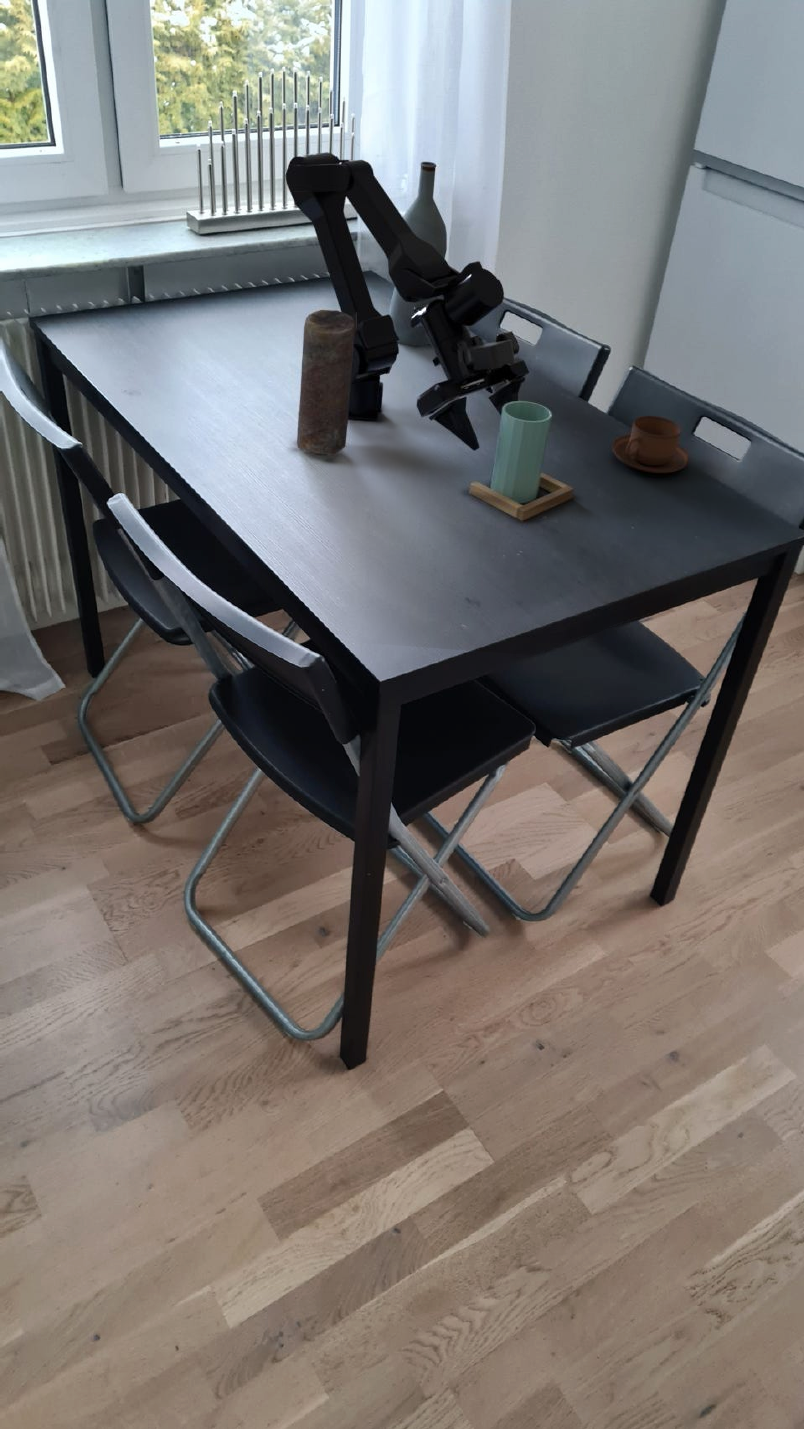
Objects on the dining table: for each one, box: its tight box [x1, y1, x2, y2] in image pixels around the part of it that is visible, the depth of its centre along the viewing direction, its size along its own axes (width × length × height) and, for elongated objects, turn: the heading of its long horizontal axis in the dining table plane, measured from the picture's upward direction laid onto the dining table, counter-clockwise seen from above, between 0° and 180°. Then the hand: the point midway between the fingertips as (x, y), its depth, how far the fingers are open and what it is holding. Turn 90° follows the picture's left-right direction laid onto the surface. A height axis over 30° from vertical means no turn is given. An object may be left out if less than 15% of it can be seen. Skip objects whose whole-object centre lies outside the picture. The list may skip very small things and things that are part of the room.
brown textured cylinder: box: [296, 309, 355, 457], centre depth 162 cm, size 8×7×20 cm
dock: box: [468, 472, 575, 522], centre depth 162 cm, size 10×12×2 cm
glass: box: [489, 400, 553, 504], centre depth 159 cm, size 7×7×12 cm
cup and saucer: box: [612, 415, 690, 474], centre depth 173 cm, size 12×12×6 cm
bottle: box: [388, 161, 448, 347], centre depth 198 cm, size 9×9×30 cm
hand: (498, 441), depth 161 cm, fingers open, 9 cm apart
